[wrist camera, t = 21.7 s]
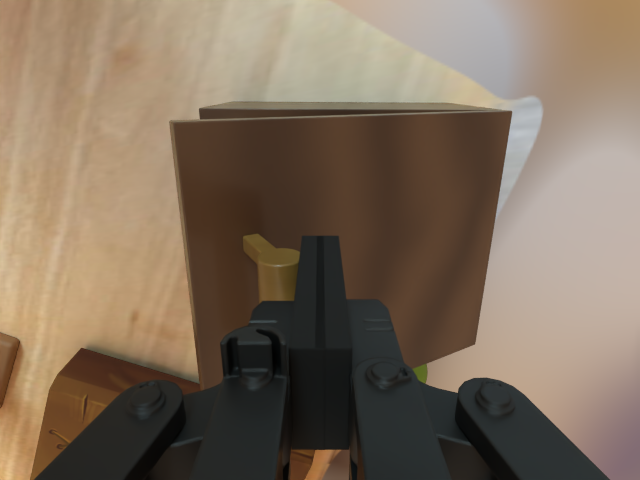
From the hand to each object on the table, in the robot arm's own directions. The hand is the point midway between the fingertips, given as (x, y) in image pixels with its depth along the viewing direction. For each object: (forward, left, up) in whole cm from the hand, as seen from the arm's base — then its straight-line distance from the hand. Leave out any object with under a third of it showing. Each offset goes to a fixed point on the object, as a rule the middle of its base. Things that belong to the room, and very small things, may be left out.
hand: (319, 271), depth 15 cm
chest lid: (+2, +2, -6) cm, 7 cm away
